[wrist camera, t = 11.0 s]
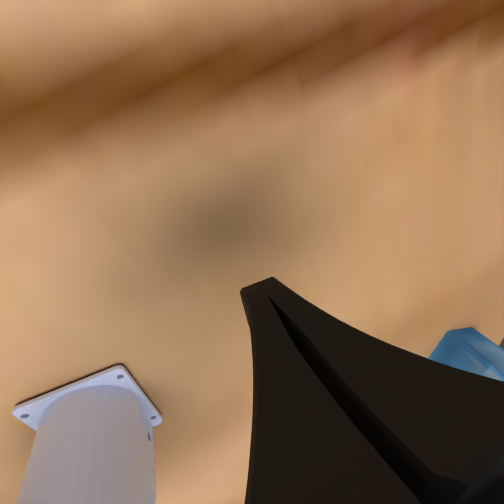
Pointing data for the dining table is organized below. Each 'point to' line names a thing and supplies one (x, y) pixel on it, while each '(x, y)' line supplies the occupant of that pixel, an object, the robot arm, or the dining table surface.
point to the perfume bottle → (470, 353)
